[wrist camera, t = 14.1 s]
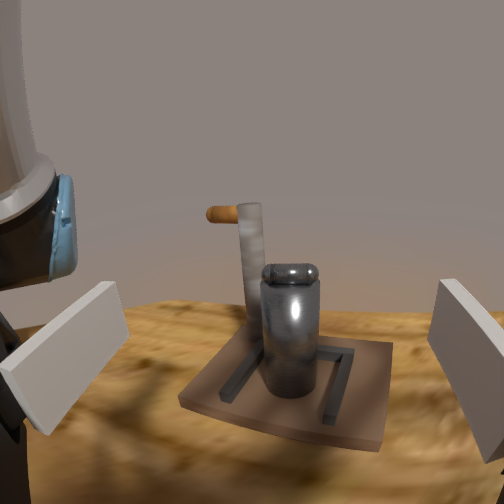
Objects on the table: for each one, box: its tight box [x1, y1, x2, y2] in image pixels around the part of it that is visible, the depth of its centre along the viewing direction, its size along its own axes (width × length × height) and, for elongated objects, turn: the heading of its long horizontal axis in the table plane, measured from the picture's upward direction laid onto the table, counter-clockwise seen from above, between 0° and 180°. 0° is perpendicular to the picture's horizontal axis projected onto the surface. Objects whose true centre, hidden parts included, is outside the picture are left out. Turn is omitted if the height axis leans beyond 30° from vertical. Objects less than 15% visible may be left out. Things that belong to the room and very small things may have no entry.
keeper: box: [178, 203, 393, 452], centre depth 26 cm, size 20×14×16 cm
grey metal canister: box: [260, 263, 320, 399], centre depth 25 cm, size 5×5×12 cm
